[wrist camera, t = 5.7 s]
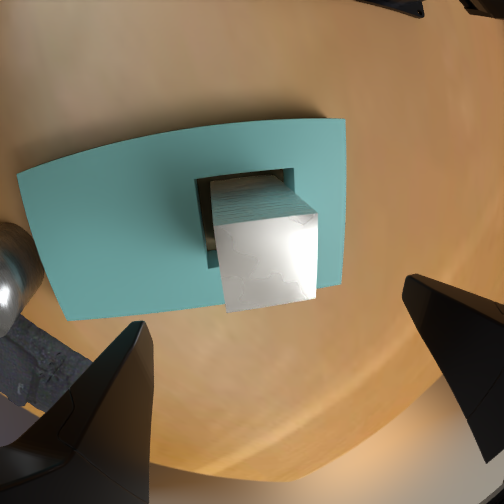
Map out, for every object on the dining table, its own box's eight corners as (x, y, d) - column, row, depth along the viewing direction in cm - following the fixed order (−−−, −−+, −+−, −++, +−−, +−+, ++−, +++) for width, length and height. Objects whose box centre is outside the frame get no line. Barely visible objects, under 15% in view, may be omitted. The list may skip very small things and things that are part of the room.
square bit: (272, 174, 18) (317, 213, 11) (275, 231, 20) (315, 298, 13) (209, 181, 18) (213, 226, 11) (217, 239, 19) (226, 312, 12)
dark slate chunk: (97, 429, 29) (93, 458, 25) (-37, 345, 20) (-52, 369, 16) (142, 379, 25) (137, 418, 21) (-36, 261, 17) (-62, 286, 12)
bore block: (328, 118, 17) (345, 118, 15) (328, 267, 22) (341, 284, 20) (35, 166, 15) (16, 174, 13) (77, 301, 20) (67, 320, 18)
